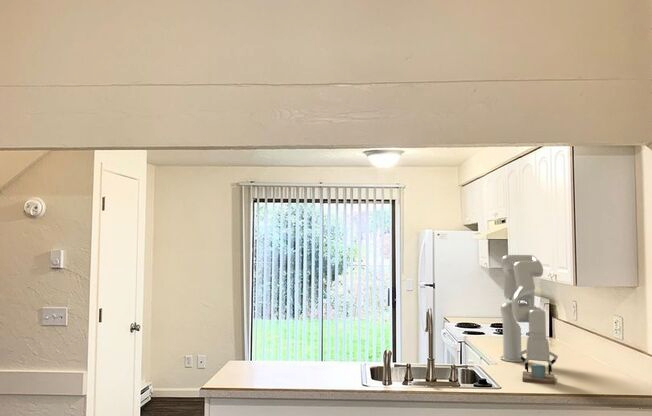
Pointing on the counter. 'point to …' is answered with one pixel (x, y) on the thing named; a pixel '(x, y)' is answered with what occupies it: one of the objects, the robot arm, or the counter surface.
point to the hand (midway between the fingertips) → (538, 372)
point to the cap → (538, 370)
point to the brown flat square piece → (529, 378)
